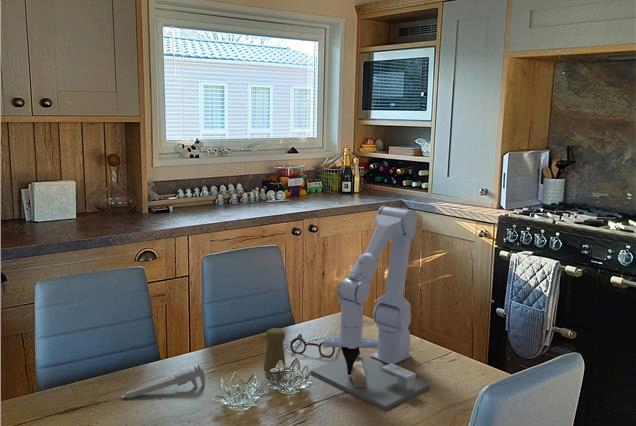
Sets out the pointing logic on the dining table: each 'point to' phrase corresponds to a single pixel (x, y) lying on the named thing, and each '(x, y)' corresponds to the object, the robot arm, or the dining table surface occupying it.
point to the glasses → (309, 344)
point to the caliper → (170, 382)
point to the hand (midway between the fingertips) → (349, 373)
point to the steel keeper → (401, 376)
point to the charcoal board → (368, 382)
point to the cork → (274, 348)
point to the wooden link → (358, 373)
